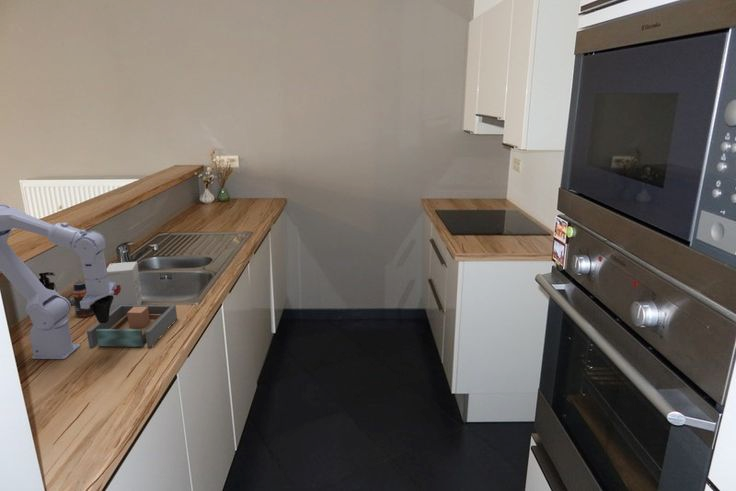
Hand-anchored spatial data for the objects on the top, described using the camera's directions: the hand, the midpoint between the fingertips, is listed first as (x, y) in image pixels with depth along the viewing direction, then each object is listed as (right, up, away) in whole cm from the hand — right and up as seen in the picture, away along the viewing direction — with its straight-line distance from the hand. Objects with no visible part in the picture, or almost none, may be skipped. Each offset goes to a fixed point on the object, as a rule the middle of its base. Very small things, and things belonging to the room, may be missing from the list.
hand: (103, 322), depth 147 cm
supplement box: (-9, 0, +33) cm, 34 cm away
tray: (+2, -6, +13) cm, 15 cm away
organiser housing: (+3, -5, +14) cm, 16 cm away
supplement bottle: (-20, -2, +28) cm, 34 cm away
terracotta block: (+3, -3, +17) cm, 17 cm away
